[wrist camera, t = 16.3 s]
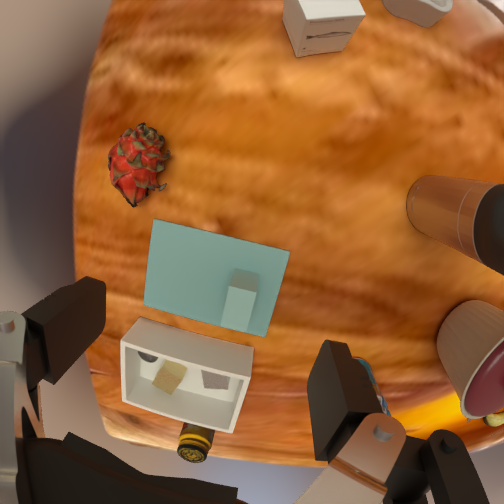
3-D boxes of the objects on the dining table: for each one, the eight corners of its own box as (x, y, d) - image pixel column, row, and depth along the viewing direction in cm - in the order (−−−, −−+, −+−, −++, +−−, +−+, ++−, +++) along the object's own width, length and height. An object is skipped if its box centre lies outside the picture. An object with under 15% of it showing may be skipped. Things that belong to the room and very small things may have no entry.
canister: (409, 325, 45) (465, 404, 25) (482, 264, 41) (558, 312, 21) (436, 380, 48) (478, 450, 28) (499, 328, 45) (554, 381, 24)
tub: (254, 347, 48) (250, 377, 40) (236, 403, 52) (232, 433, 44) (140, 316, 48) (120, 340, 40) (137, 375, 52) (122, 401, 44)
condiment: (189, 395, 52) (174, 440, 40) (232, 407, 52) (223, 453, 41) (185, 418, 54) (171, 460, 42) (224, 428, 54) (216, 472, 43)
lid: (289, 250, 44) (293, 267, 36) (265, 334, 48) (263, 362, 40) (156, 217, 44) (133, 228, 36) (145, 302, 48) (125, 324, 40)
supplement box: (295, 59, 35) (304, 20, 23) (281, 19, 34) (284, -26, 22) (343, 52, 35) (367, 15, 22) (328, 14, 33) (344, -30, 21)
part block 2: (229, 357, 48) (226, 371, 44) (230, 374, 49) (227, 389, 45) (205, 356, 48) (201, 370, 44) (208, 373, 49) (204, 388, 45)
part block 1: (187, 367, 49) (182, 379, 46) (176, 383, 50) (170, 395, 47) (167, 356, 49) (161, 367, 45) (157, 372, 50) (151, 383, 47)
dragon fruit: (165, 122, 41) (154, 196, 46) (110, 118, 36) (102, 196, 41) (181, 127, 34) (167, 215, 39) (115, 122, 30) (106, 216, 35)
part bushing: (166, 335, 47) (158, 348, 44) (165, 351, 48) (157, 365, 45) (146, 329, 47) (137, 341, 44) (146, 346, 48) (137, 359, 45)
